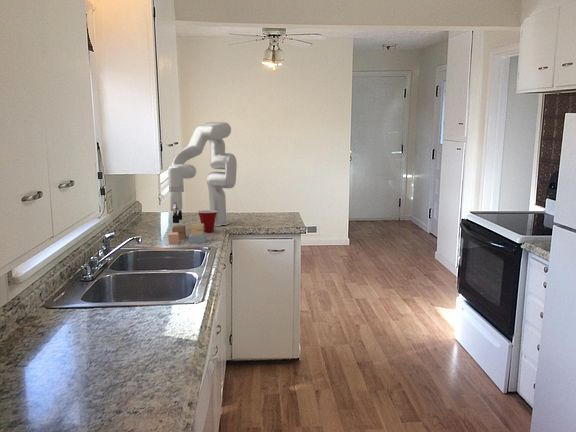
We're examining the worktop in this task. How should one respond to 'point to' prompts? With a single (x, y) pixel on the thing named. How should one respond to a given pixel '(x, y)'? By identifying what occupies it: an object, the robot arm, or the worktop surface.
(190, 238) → the base block
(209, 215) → the plastic cup
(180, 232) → the walnut cube
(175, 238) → the terracotta block
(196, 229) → the oak block
